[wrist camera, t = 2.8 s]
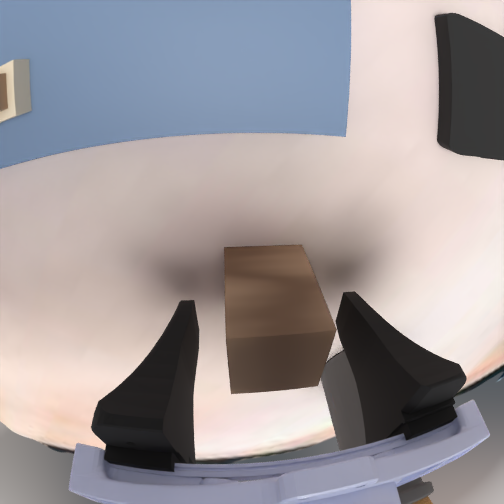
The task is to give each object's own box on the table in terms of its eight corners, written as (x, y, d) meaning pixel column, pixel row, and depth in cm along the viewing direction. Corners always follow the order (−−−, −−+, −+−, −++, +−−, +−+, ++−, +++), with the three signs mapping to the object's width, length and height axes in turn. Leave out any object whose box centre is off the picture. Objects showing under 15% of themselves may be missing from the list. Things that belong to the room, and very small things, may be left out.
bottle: (360, 334, 20) (428, 523, 7) (395, 354, 22) (454, 502, 9) (305, 375, 22) (343, 547, 9) (346, 389, 24) (386, 529, 12)
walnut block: (227, 305, 17) (231, 393, 12) (224, 247, 15) (225, 338, 10) (294, 301, 17) (317, 385, 12) (301, 244, 15) (336, 329, 10)
